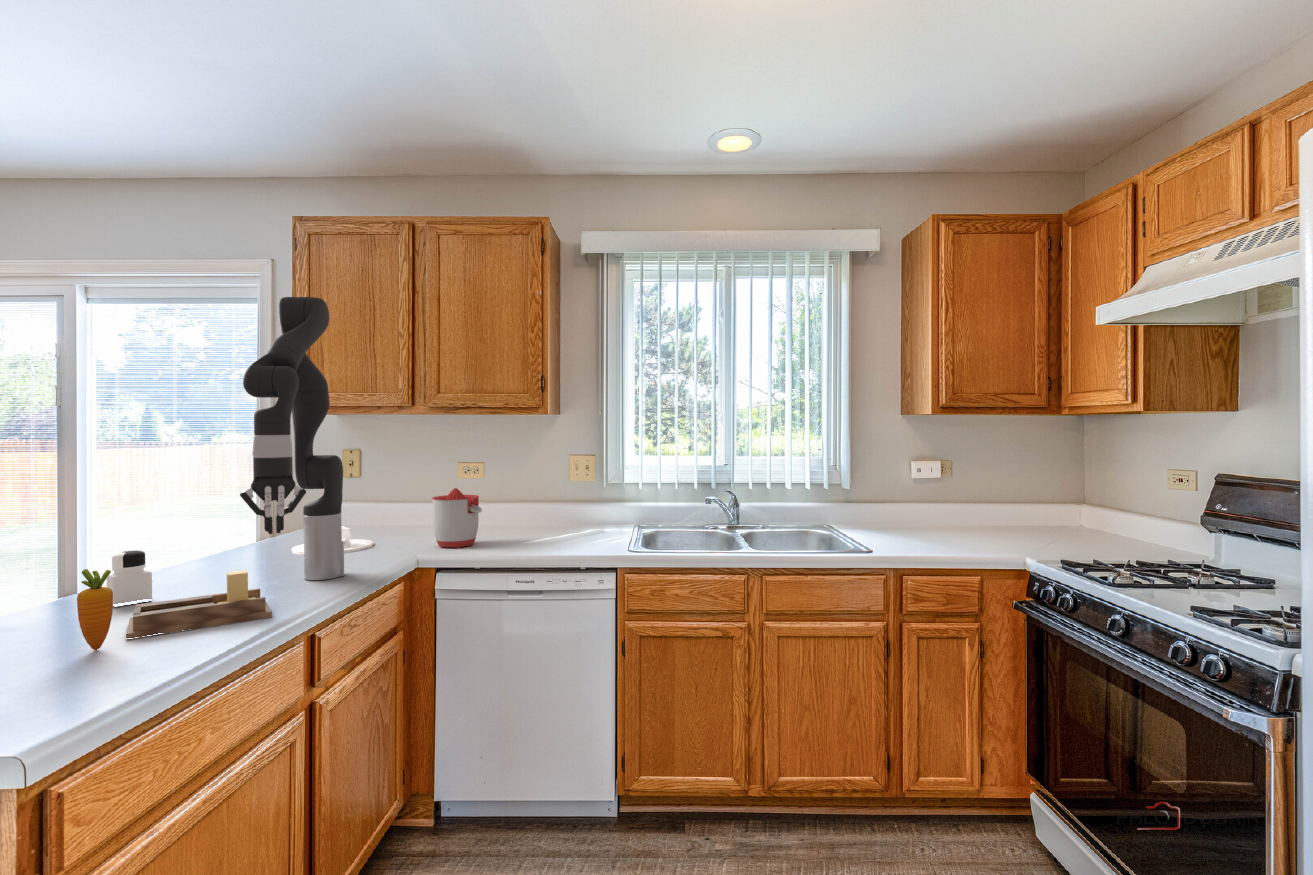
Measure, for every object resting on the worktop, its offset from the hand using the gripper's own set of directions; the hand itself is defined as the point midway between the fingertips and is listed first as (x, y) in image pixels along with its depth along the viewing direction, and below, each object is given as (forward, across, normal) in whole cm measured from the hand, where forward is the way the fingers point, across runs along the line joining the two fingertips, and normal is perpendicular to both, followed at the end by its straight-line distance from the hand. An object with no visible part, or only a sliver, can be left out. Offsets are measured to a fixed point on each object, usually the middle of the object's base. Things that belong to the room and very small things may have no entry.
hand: (274, 532), depth 143 cm
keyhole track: (+17, -14, 0) cm, 22 cm away
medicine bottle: (+17, -26, +29) cm, 43 cm away
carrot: (+17, -30, -11) cm, 36 cm away
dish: (+18, +26, +77) cm, 83 cm away
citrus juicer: (+17, +60, +53) cm, 82 cm away
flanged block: (+16, -7, 0) cm, 17 cm away
